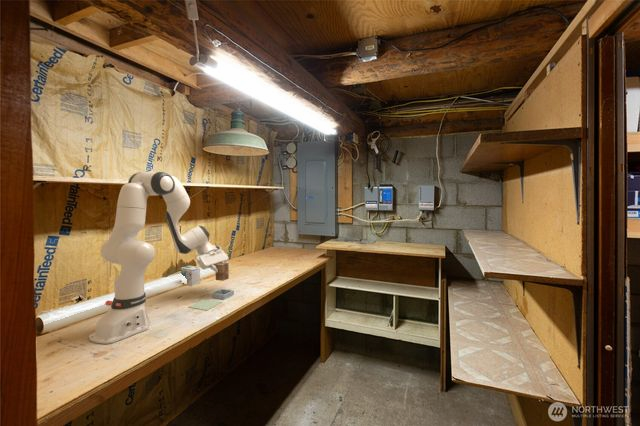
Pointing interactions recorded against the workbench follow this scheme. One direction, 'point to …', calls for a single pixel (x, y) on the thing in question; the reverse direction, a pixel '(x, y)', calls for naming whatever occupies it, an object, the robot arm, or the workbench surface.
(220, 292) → the gray square frame
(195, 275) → the light bulb box
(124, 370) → the workbench surface
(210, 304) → the rubber mat
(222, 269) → the walnut block
